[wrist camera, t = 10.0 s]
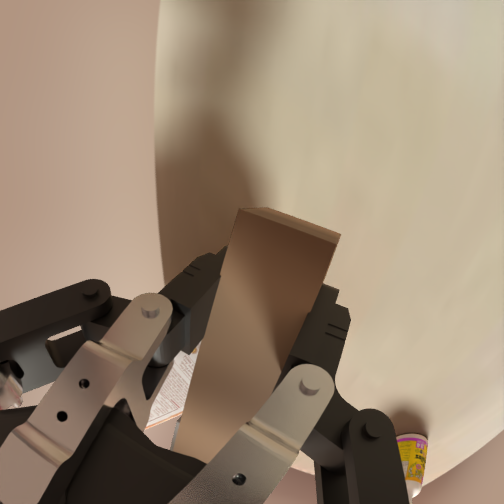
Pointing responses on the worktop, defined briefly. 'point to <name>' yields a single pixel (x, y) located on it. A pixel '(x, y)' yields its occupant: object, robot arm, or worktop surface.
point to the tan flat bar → (252, 324)
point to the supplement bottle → (413, 461)
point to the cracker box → (173, 389)
